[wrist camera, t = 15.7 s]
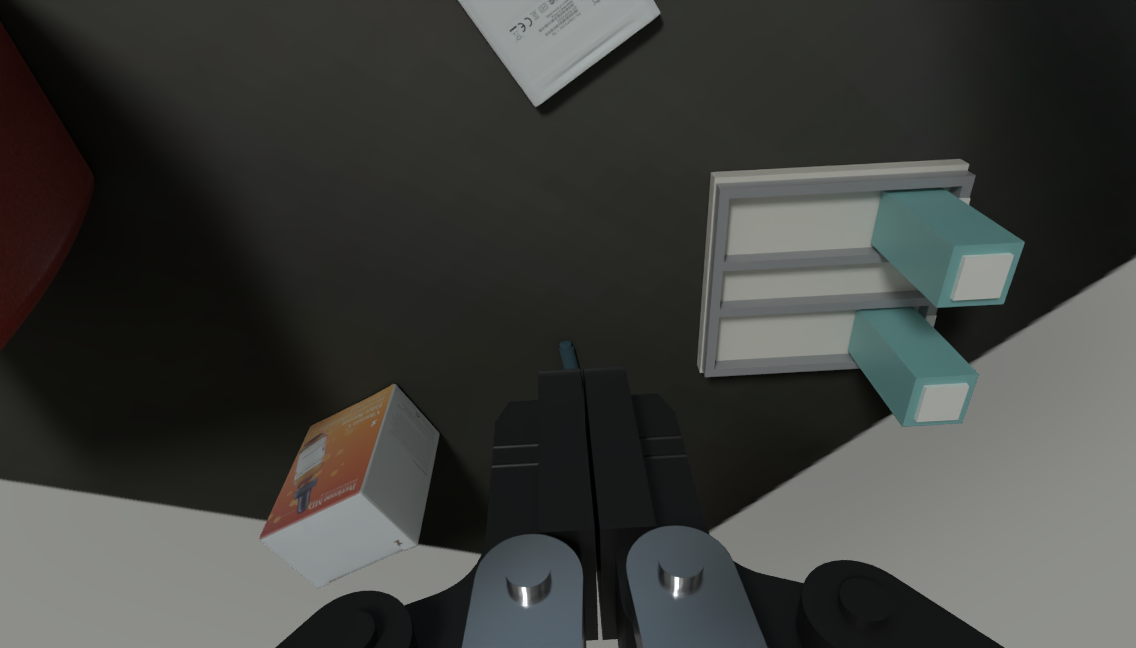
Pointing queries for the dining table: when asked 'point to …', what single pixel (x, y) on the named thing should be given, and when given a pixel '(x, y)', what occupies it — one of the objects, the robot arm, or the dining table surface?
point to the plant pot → (34, 191)
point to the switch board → (803, 263)
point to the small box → (355, 489)
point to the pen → (569, 359)
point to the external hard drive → (555, 36)
